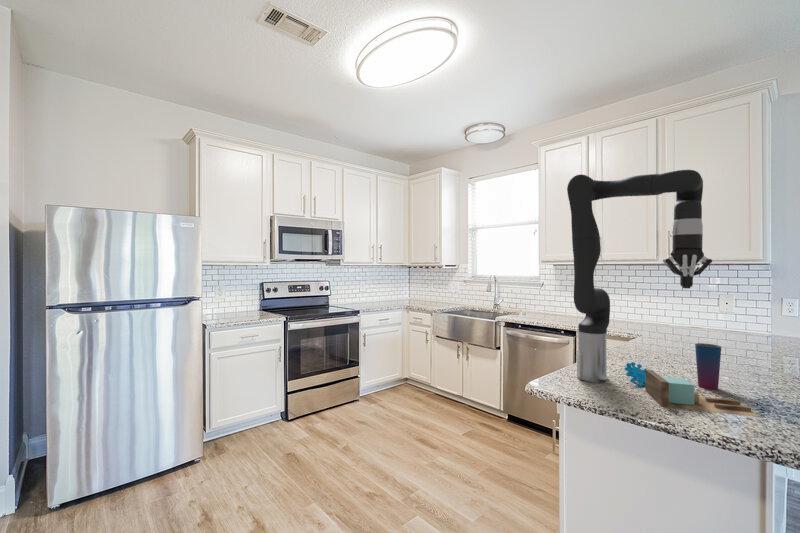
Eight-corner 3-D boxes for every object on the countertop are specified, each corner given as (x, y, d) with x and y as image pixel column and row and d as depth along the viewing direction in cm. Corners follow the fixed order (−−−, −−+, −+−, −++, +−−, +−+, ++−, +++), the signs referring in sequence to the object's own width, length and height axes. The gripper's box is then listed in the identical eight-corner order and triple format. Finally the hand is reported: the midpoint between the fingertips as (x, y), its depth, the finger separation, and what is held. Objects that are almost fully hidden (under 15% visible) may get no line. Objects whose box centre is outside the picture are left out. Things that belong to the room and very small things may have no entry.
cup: (726, 393, 119) (726, 347, 119) (702, 392, 120) (702, 346, 121) (713, 387, 126) (713, 343, 126) (690, 386, 127) (690, 342, 127)
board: (661, 409, 105) (661, 381, 105) (645, 393, 118) (645, 369, 119) (762, 420, 98) (761, 390, 98) (733, 402, 111) (733, 376, 111)
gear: (636, 385, 121) (622, 359, 128) (624, 394, 125) (611, 368, 132) (664, 388, 123) (649, 362, 130) (652, 397, 127) (637, 371, 134)
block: (665, 402, 108) (665, 382, 108) (657, 394, 114) (657, 376, 114) (694, 405, 106) (694, 385, 106) (684, 397, 112) (684, 378, 112)
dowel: (667, 399, 109) (666, 389, 110) (663, 399, 112) (663, 389, 113) (699, 403, 107) (698, 392, 107) (695, 402, 109) (694, 392, 110)
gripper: (667, 233, 115) (666, 288, 115) (718, 232, 111) (717, 289, 111) (658, 235, 122) (658, 287, 122) (706, 234, 118) (705, 288, 118)
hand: (686, 288), depth 117 cm, fingers closed
